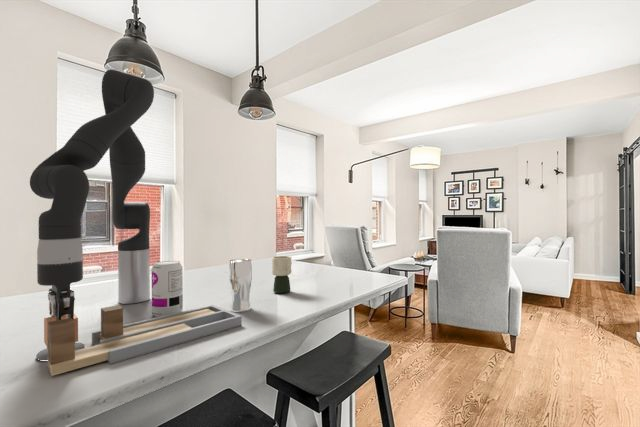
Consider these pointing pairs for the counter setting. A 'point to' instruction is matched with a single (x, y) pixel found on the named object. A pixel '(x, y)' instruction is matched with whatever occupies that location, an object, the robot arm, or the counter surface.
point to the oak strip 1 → (68, 359)
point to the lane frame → (198, 329)
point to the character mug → (281, 273)
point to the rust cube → (55, 320)
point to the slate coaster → (44, 353)
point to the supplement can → (167, 288)
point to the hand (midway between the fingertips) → (61, 339)
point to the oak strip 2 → (114, 325)
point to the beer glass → (240, 284)
